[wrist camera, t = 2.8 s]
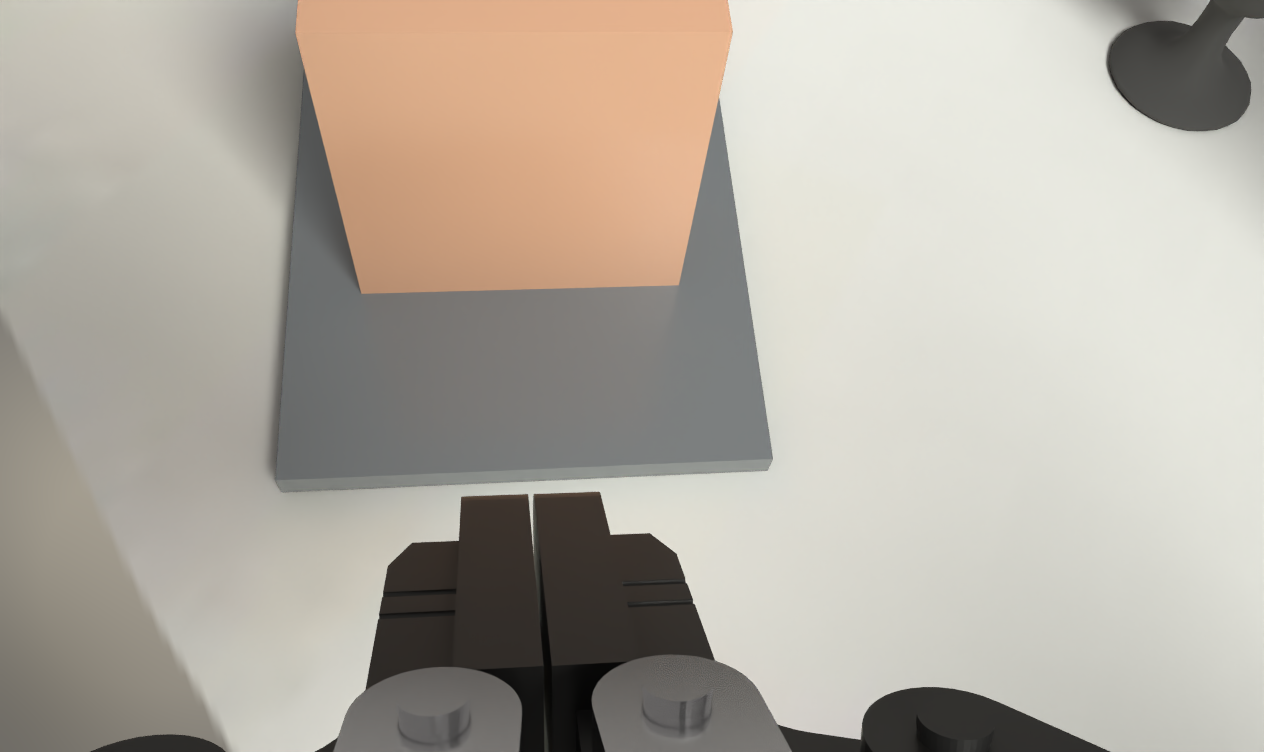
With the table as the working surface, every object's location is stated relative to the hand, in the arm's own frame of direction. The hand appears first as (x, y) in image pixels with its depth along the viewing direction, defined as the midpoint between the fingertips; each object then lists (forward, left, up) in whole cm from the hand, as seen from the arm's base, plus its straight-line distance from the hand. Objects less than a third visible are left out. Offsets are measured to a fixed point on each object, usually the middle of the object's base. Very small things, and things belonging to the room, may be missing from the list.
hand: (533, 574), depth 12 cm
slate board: (-12, -14, -16) cm, 25 cm away
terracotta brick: (-10, -11, -16) cm, 21 cm away
